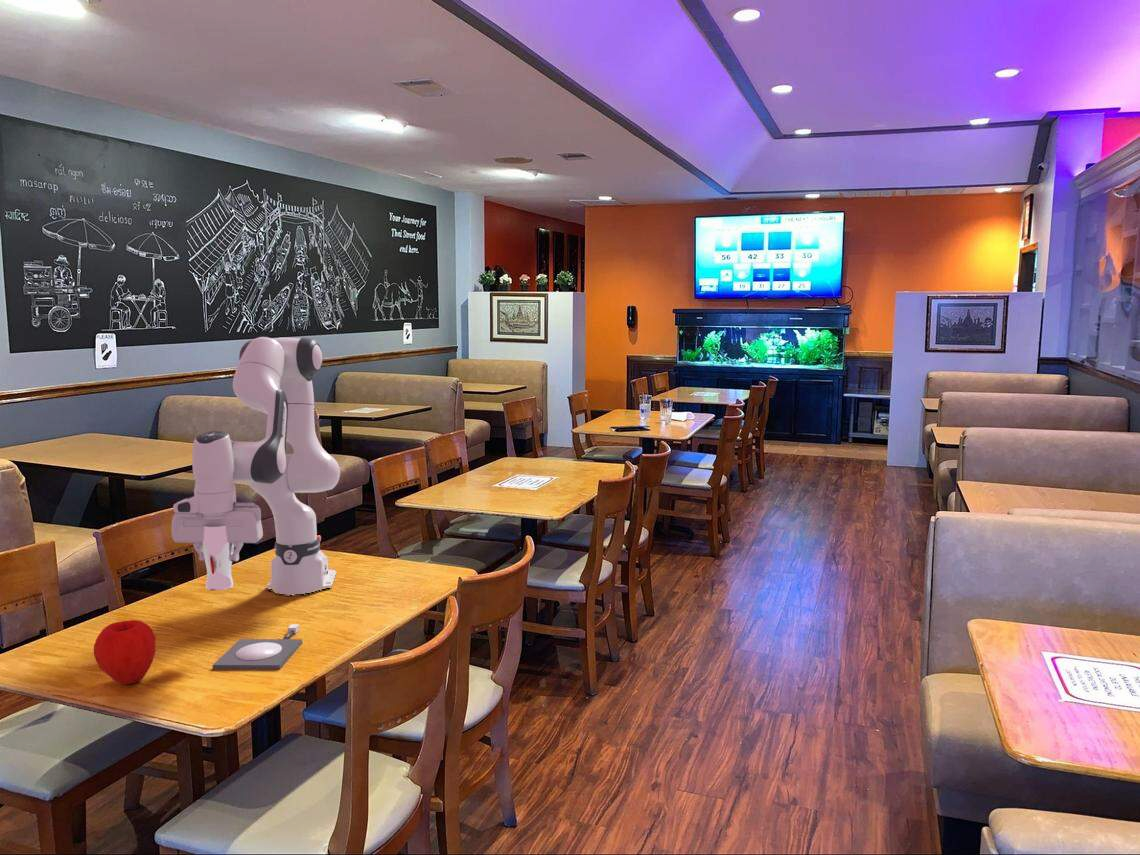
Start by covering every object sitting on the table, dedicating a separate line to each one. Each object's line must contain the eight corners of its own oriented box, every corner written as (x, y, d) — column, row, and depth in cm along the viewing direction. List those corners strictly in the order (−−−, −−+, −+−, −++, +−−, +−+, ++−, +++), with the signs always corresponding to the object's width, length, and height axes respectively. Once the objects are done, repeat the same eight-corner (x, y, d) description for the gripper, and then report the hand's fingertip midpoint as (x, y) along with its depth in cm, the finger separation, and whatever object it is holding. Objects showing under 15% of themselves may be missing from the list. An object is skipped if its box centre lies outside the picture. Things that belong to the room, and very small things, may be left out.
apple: (83, 691, 178) (78, 630, 176) (122, 668, 190) (118, 611, 188) (134, 696, 176) (129, 634, 174) (170, 672, 188) (166, 614, 186)
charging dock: (253, 630, 212) (253, 624, 212) (313, 630, 212) (313, 624, 211) (212, 669, 189) (212, 662, 189) (279, 669, 189) (279, 662, 188)
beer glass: (201, 592, 194) (198, 527, 193) (206, 583, 201) (203, 521, 199) (234, 590, 196) (231, 526, 194) (237, 581, 203) (235, 519, 201)
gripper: (265, 499, 199) (268, 556, 201) (179, 499, 200) (183, 556, 201) (254, 505, 193) (258, 564, 194) (166, 505, 193) (170, 564, 195)
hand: (219, 560), depth 198 cm, fingers closed on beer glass, 6 cm apart
